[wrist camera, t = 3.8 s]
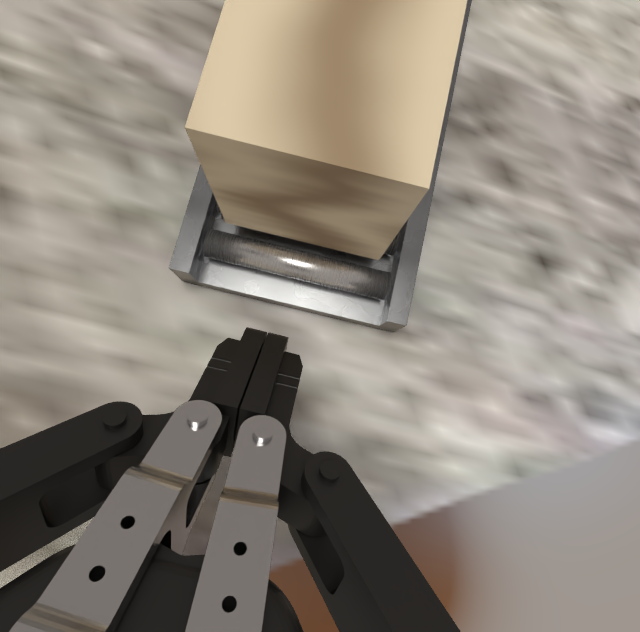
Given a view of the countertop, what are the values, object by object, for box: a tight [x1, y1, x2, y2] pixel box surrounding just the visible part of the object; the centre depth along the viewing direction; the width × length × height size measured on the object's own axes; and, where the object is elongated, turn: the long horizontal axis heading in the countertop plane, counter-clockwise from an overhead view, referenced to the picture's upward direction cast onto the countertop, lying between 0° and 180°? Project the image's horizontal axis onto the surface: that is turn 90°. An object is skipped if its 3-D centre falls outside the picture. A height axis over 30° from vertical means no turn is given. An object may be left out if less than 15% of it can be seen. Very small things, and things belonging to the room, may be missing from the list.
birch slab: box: [185, 0, 467, 260], centre depth 18 cm, size 8×10×8 cm
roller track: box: [169, 0, 472, 332], centre depth 22 cm, size 12×24×7 cm, turn 167°
